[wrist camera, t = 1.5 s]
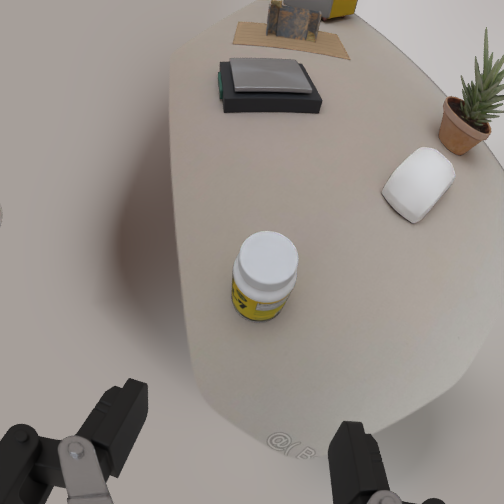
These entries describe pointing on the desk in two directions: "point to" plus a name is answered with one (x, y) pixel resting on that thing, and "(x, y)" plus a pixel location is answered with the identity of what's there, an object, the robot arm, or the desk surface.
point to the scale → (265, 97)
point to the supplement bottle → (263, 275)
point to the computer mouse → (419, 183)
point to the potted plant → (473, 108)
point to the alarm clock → (326, 6)
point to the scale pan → (268, 75)
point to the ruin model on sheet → (290, 32)
